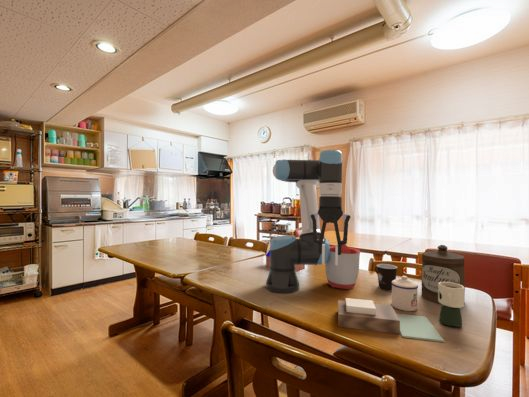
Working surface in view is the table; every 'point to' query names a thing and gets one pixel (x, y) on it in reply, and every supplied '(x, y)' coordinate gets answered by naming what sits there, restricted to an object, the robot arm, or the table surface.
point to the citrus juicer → (343, 267)
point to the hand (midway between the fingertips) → (329, 263)
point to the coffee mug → (386, 275)
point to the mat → (418, 328)
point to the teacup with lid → (404, 294)
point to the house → (297, 267)
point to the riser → (370, 319)
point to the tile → (360, 306)
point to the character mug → (451, 303)
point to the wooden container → (440, 271)
